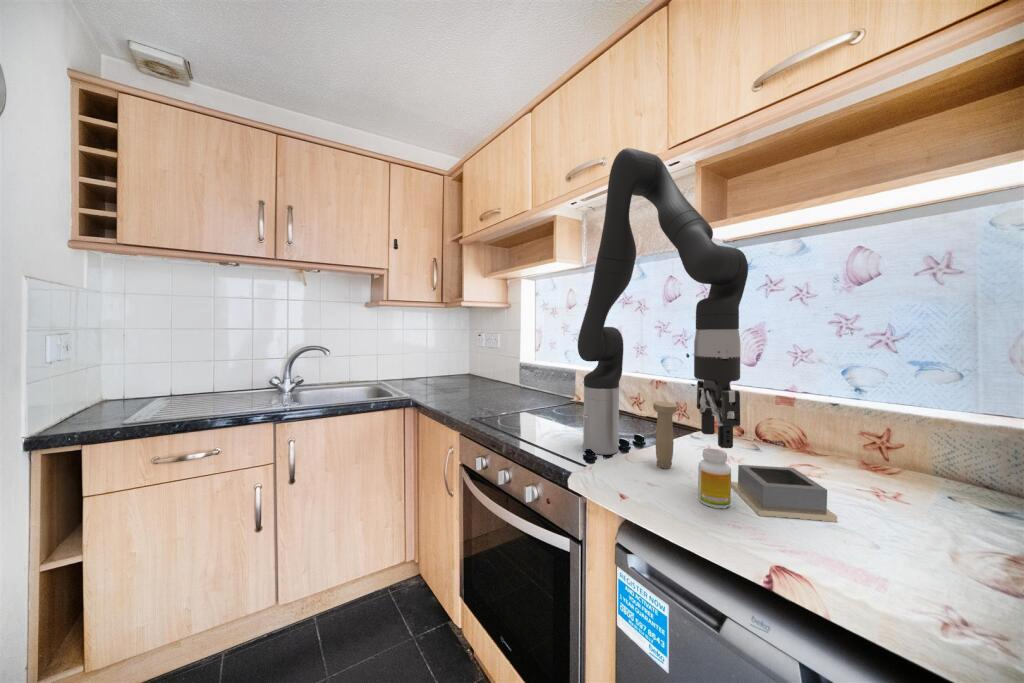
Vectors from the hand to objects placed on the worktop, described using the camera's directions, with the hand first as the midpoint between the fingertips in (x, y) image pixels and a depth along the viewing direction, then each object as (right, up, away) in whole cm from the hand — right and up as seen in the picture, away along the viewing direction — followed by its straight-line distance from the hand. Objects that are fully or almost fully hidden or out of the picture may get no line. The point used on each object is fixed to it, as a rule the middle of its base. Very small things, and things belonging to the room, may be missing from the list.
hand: (716, 440), depth 68 cm
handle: (-2, -11, +18) cm, 22 cm away
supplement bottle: (0, -12, +1) cm, 12 cm away
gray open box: (+12, -12, +1) cm, 17 cm away
